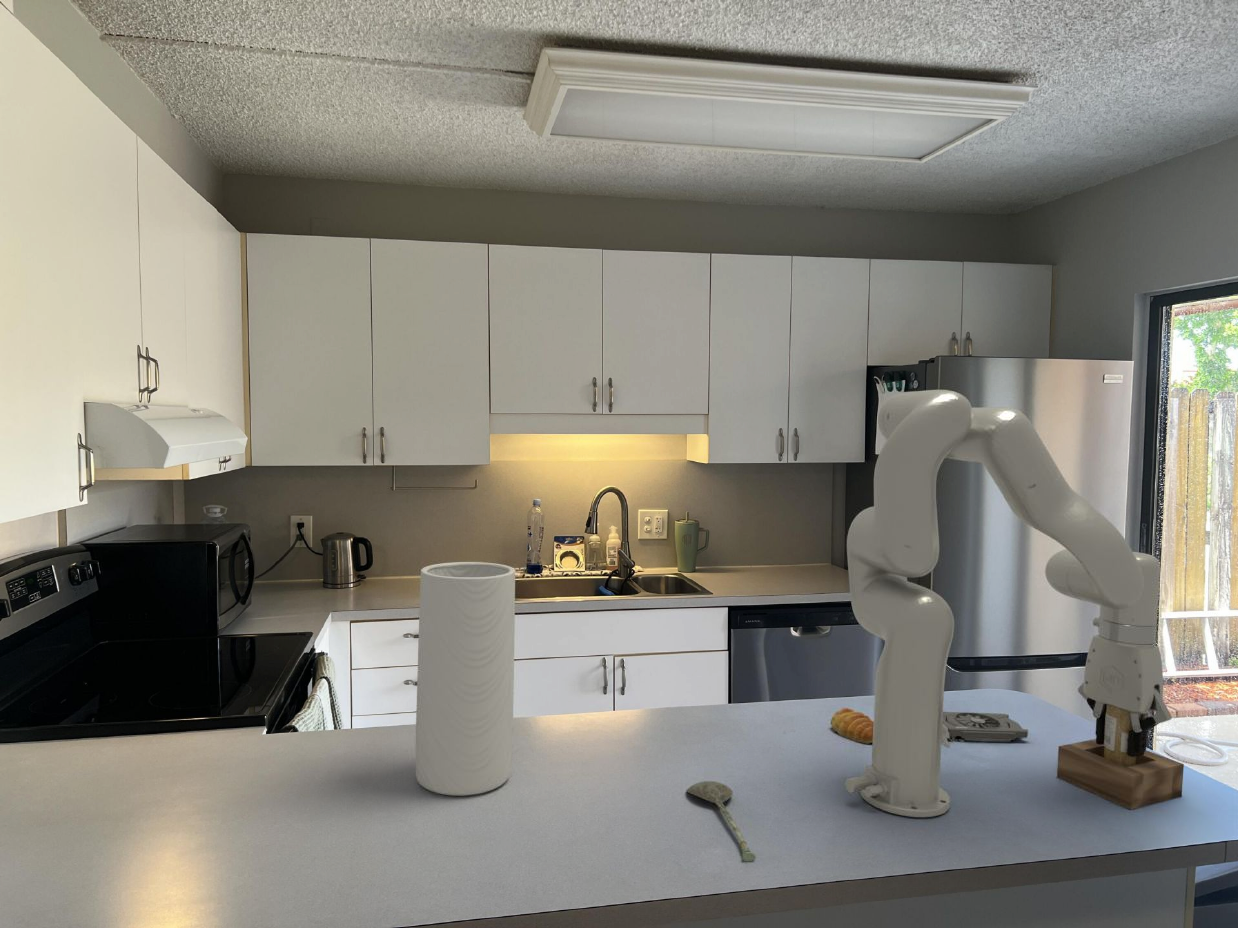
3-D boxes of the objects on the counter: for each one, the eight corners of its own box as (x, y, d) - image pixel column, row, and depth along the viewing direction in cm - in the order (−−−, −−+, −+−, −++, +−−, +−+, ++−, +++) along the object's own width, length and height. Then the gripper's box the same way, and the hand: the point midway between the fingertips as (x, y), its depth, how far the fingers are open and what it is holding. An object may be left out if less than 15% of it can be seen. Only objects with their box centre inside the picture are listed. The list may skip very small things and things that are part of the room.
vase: (505, 800, 119) (510, 579, 117) (404, 797, 119) (408, 576, 117) (517, 759, 133) (522, 562, 132) (426, 757, 133) (430, 560, 131)
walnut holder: (1130, 809, 122) (1132, 775, 122) (1056, 777, 133) (1058, 746, 133) (1181, 796, 127) (1183, 763, 127) (1106, 766, 138) (1108, 736, 138)
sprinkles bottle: (1136, 777, 127) (1142, 690, 126) (1101, 770, 129) (1107, 684, 128) (1135, 767, 131) (1140, 682, 130) (1101, 760, 133) (1106, 677, 132)
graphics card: (943, 730, 144) (916, 705, 156) (941, 751, 144) (915, 725, 156) (1039, 733, 144) (1006, 708, 156) (1038, 754, 145) (1004, 728, 156)
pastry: (891, 743, 146) (891, 721, 146) (860, 748, 143) (860, 726, 143) (855, 724, 154) (856, 704, 154) (825, 729, 152) (826, 708, 151)
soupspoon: (724, 792, 126) (682, 796, 125) (724, 770, 126) (681, 773, 125) (773, 862, 105) (722, 867, 104) (772, 835, 105) (721, 840, 104)
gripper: (1060, 621, 135) (1054, 733, 136) (1167, 648, 120) (1159, 774, 121) (1092, 618, 138) (1085, 727, 139) (1199, 644, 123) (1191, 766, 124)
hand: (1119, 747), depth 130 cm, fingers closed on sprinkles bottle, 4 cm apart
